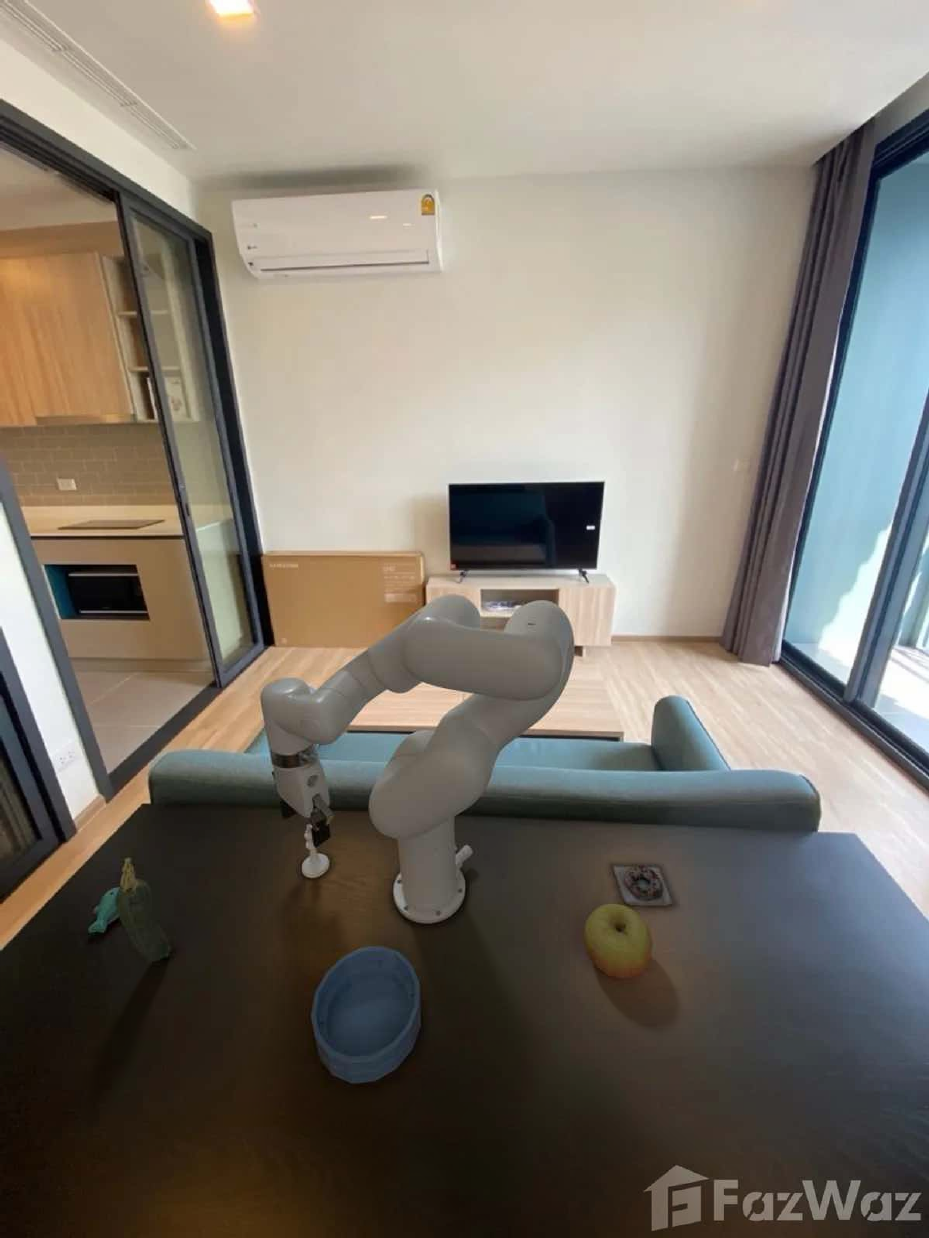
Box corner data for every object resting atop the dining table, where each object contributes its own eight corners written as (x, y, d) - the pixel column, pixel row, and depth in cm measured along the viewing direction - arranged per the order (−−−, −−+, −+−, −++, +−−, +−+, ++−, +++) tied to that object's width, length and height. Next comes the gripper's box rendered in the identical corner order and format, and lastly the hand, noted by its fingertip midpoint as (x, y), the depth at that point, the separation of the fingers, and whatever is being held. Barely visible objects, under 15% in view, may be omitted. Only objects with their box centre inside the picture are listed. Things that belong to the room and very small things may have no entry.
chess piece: (334, 859, 94) (327, 818, 91) (319, 880, 90) (311, 839, 86) (312, 853, 96) (305, 812, 92) (296, 873, 92) (288, 832, 88)
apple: (639, 1004, 70) (645, 967, 67) (573, 968, 75) (576, 931, 72) (655, 946, 78) (661, 910, 75) (594, 916, 83) (598, 881, 80)
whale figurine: (143, 897, 88) (137, 881, 86) (113, 937, 81) (106, 921, 79) (112, 896, 88) (105, 880, 87) (79, 936, 81) (72, 919, 80)
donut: (623, 905, 84) (625, 896, 84) (612, 866, 92) (613, 858, 91) (673, 906, 84) (675, 897, 83) (658, 867, 91) (660, 859, 90)
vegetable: (158, 978, 75) (120, 881, 67) (133, 972, 76) (93, 876, 68) (179, 949, 79) (146, 855, 71) (155, 944, 80) (120, 850, 72)
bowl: (376, 949, 78) (373, 927, 76) (442, 1014, 69) (440, 991, 68) (296, 1028, 68) (290, 1005, 66) (361, 1115, 60) (357, 1091, 58)
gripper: (344, 760, 80) (353, 840, 87) (286, 720, 91) (298, 794, 97) (303, 784, 75) (316, 867, 82) (246, 739, 86) (262, 816, 92)
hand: (306, 827), depth 90 cm, fingers open, 9 cm apart
